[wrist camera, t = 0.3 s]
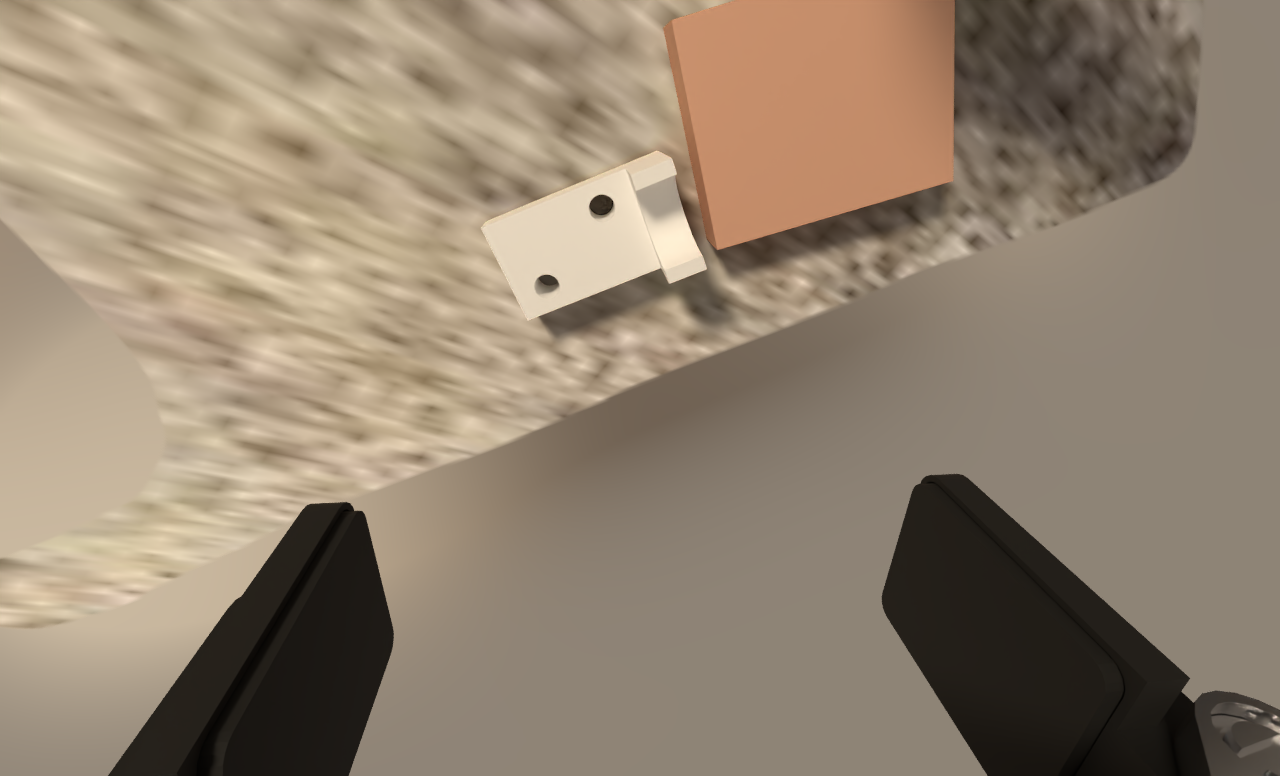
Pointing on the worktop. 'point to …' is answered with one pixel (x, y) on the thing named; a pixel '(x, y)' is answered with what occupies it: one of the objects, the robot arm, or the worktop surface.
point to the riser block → (812, 107)
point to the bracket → (596, 236)
